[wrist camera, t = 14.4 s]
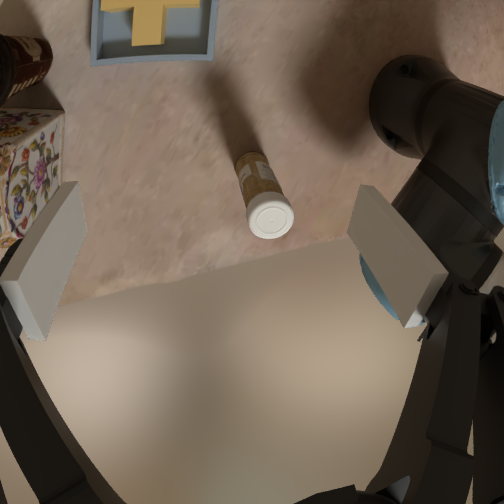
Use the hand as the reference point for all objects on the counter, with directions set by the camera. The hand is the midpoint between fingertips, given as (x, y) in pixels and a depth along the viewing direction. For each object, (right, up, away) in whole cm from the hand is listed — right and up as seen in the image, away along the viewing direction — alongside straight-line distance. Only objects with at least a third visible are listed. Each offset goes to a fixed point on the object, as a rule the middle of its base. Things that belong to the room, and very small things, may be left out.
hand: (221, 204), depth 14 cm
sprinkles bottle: (+1, +9, +28) cm, 29 cm away
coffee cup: (-26, +22, +13) cm, 36 cm away
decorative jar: (-29, +12, +20) cm, 37 cm away
